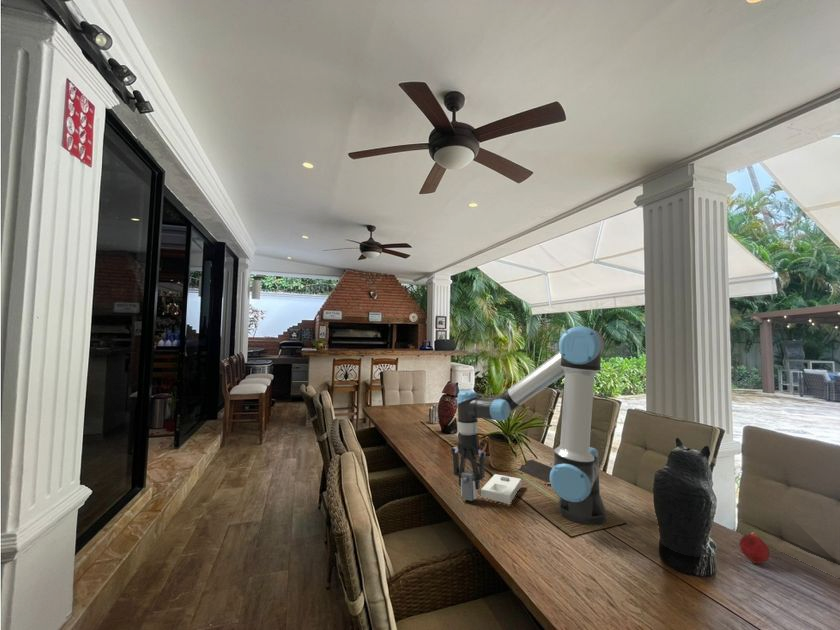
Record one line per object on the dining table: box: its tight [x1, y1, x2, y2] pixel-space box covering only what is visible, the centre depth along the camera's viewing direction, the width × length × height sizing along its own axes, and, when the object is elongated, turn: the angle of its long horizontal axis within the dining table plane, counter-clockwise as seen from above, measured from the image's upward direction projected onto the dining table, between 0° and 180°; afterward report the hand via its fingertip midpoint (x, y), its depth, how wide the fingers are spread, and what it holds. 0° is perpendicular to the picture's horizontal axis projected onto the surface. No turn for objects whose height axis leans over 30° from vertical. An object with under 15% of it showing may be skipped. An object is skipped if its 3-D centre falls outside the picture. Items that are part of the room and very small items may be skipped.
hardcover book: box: [518, 459, 553, 483], centre depth 158 cm, size 16×23×2 cm
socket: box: [480, 473, 522, 504], centre depth 137 cm, size 11×18×4 cm, turn 151°
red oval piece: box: [739, 531, 771, 565], centre depth 94 cm, size 6×6×8 cm
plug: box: [461, 469, 475, 502], centre depth 129 cm, size 4×7×9 cm, turn 151°
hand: (469, 496), depth 130 cm, fingers closed on plug, 4 cm apart
